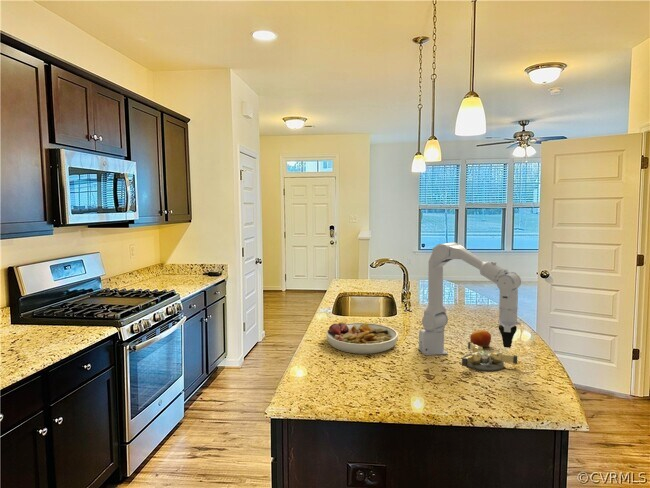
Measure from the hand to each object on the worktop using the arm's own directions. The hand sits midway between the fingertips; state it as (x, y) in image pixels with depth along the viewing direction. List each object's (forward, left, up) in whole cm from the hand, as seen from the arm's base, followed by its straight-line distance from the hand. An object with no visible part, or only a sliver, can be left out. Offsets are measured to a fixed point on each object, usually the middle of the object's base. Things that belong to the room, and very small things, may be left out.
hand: (507, 347), depth 143 cm
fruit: (+4, +27, -9) cm, 29 cm away
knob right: (+2, +5, -8) cm, 9 cm away
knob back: (-4, +15, -7) cm, 18 cm away
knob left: (-10, +5, -8) cm, 14 cm away
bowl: (-44, +36, -10) cm, 58 cm away
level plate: (-4, +8, -9) cm, 13 cm away
